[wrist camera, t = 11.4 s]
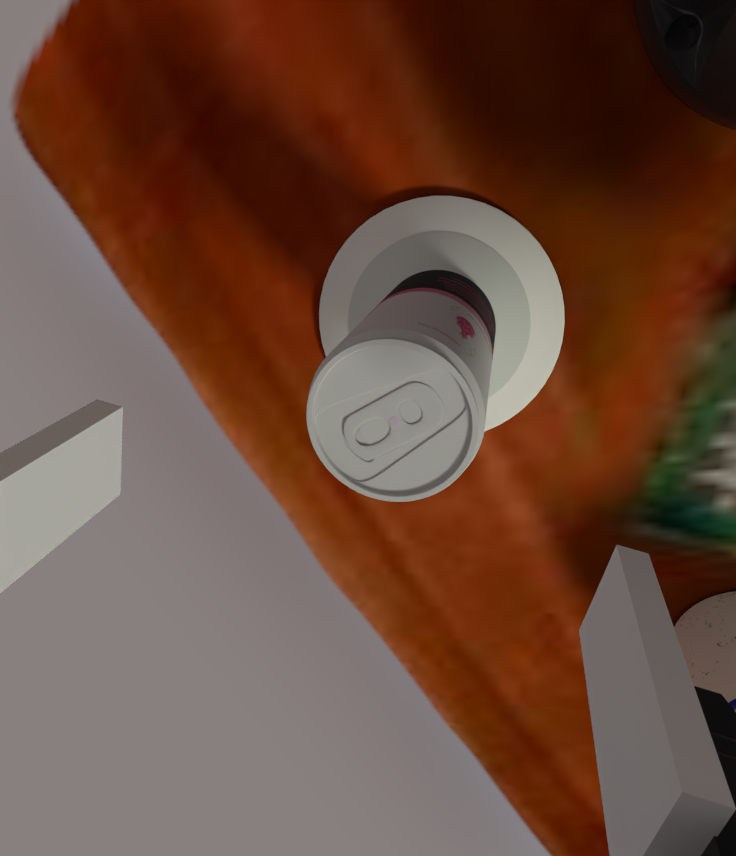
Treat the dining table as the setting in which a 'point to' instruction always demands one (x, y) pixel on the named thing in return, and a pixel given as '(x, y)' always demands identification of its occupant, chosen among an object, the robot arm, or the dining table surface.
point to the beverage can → (407, 390)
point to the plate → (466, 255)
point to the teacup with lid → (711, 644)
